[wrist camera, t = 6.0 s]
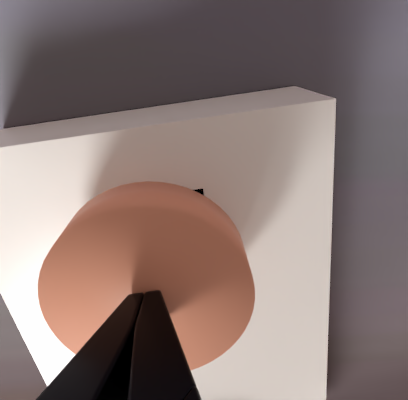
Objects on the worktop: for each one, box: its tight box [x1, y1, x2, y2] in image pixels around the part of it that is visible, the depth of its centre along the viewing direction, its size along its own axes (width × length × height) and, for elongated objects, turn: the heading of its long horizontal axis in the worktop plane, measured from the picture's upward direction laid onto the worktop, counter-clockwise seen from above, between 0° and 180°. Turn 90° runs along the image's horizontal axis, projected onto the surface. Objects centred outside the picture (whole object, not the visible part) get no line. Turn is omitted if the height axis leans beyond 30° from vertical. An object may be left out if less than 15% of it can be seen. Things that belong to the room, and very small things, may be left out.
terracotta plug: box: [38, 181, 255, 370], centre depth 11 cm, size 6×6×5 cm
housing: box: [0, 86, 336, 400], centre depth 16 cm, size 21×12×4 cm, turn 8°
